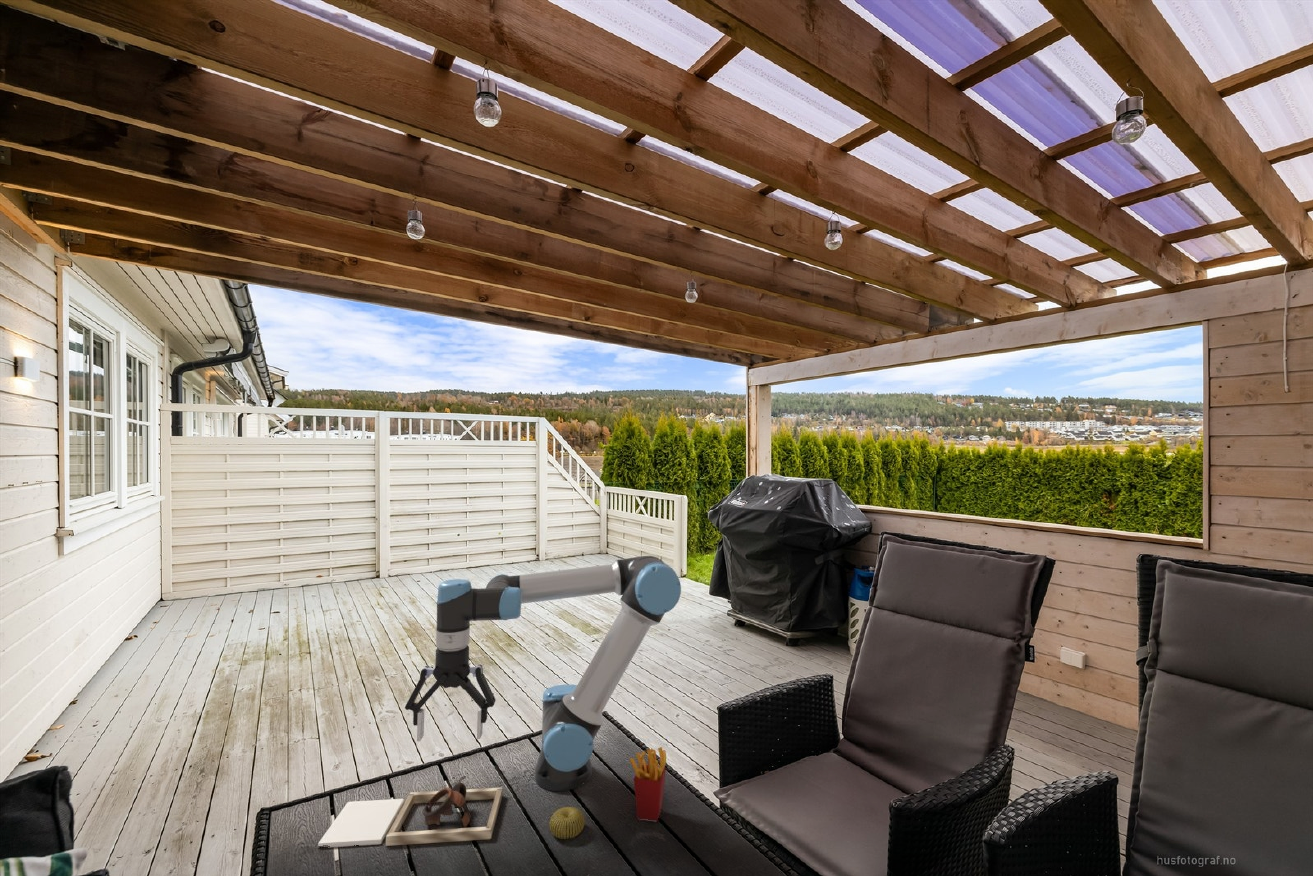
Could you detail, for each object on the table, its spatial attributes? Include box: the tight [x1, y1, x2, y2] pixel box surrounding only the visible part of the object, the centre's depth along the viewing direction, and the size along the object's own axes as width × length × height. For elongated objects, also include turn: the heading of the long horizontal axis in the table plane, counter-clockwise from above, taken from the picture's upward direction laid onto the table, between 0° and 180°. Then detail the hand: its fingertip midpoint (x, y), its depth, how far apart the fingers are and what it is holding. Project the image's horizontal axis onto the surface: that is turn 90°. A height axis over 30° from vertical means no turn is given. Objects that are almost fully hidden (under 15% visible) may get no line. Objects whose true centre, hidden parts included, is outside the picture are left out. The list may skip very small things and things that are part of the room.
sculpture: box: [548, 806, 586, 840], centre depth 129 cm, size 8×4×8 cm
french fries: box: [629, 746, 667, 821], centre depth 136 cm, size 9×8×15 cm
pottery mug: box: [422, 782, 471, 828], centre depth 133 cm, size 12×10×8 cm
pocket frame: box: [385, 786, 504, 847], centre depth 133 cm, size 22×16×2 cm
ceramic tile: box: [317, 798, 405, 848], centre depth 130 cm, size 13×15×1 cm
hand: (450, 737), depth 133 cm, fingers open, 13 cm apart
